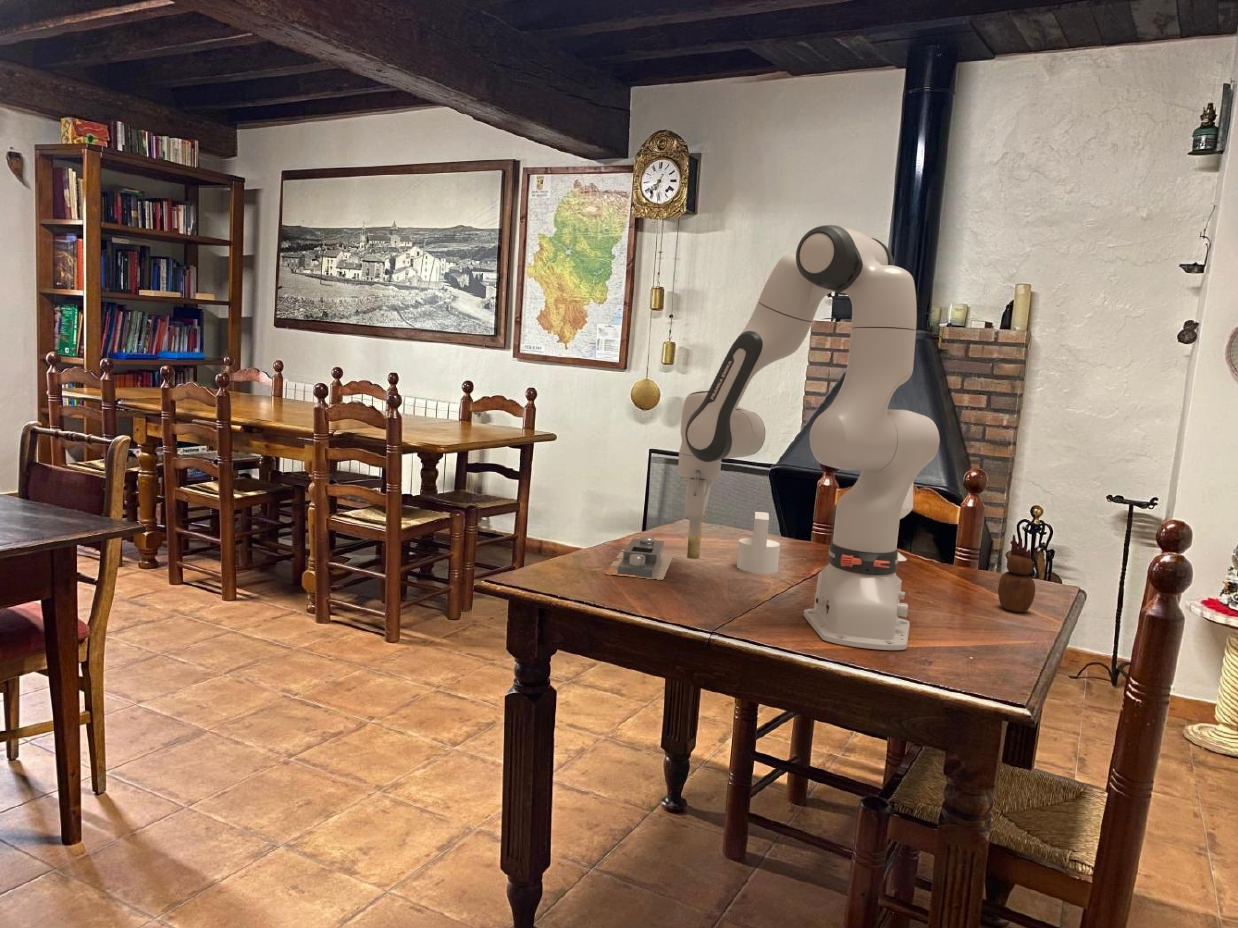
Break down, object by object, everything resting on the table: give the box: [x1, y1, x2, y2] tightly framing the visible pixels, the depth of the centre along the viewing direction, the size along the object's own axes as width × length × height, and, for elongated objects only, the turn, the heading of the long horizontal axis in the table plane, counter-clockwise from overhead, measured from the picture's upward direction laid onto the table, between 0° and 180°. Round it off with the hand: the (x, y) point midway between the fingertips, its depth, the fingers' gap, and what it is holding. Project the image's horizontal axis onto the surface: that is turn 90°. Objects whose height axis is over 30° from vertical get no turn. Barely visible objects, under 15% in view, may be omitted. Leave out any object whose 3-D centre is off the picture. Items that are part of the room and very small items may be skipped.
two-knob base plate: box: [610, 535, 675, 581], centre depth 195 cm, size 23×12×4 cm, turn 171°
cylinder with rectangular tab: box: [736, 511, 781, 575], centre depth 199 cm, size 9×9×12 cm
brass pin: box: [686, 510, 707, 560], centre depth 188 cm, size 4×4×10 cm
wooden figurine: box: [997, 534, 1036, 613], centre depth 178 cm, size 7×6×15 cm
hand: (694, 533), depth 188 cm, fingers closed on brass pin, 3 cm apart
